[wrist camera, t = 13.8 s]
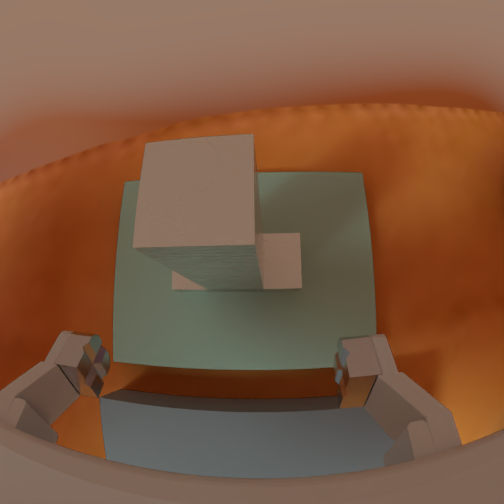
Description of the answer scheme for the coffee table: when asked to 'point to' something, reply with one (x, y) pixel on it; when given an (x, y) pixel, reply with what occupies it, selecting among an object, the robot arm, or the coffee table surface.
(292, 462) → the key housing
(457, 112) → the coffee table surface
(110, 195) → the coffee table surface
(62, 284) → the coffee table surface
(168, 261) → the steel key
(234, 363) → the rubber mat
